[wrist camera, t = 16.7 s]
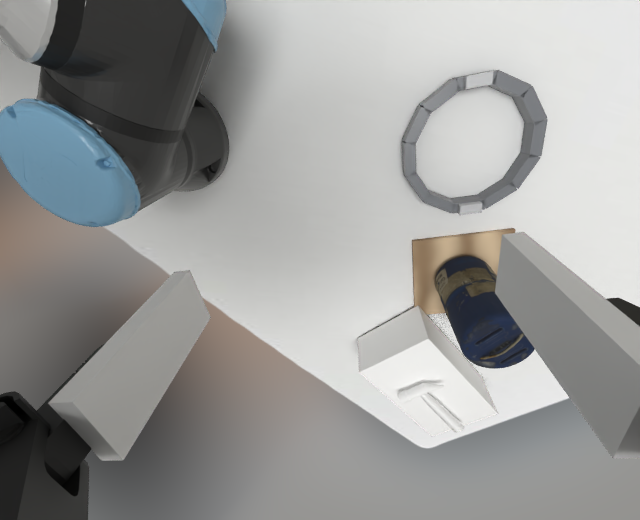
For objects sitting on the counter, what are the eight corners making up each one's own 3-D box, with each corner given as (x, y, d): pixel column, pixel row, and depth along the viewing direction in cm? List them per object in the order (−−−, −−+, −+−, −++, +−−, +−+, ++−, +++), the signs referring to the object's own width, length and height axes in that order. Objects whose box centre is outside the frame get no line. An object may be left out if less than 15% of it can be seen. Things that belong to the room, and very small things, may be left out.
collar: (404, 213, 49) (408, 221, 46) (399, 88, 41) (403, 88, 38) (524, 197, 46) (537, 205, 43) (545, 59, 38) (562, 57, 35)
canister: (498, 282, 53) (559, 361, 38) (447, 305, 57) (484, 388, 41) (474, 242, 50) (531, 311, 34) (422, 270, 53) (452, 344, 38)
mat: (414, 313, 59) (415, 315, 58) (412, 240, 51) (412, 241, 51) (502, 306, 56) (503, 308, 56) (513, 228, 49) (515, 229, 48)
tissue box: (418, 305, 57) (431, 349, 48) (481, 376, 66) (503, 425, 56) (357, 338, 63) (359, 383, 53) (423, 400, 71) (434, 448, 62)
